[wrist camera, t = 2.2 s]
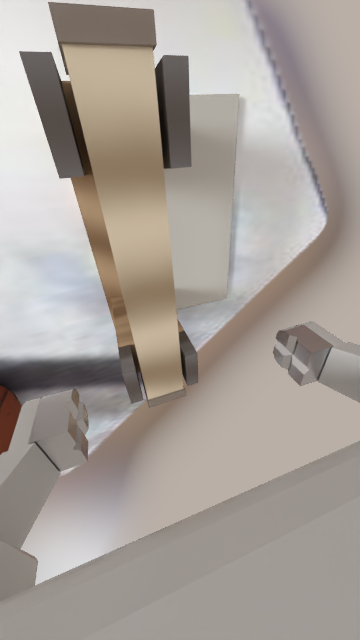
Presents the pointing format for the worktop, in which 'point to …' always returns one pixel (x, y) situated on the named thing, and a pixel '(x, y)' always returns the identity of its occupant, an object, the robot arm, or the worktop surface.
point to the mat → (203, 202)
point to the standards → (75, 164)
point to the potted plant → (8, 417)
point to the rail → (127, 172)
